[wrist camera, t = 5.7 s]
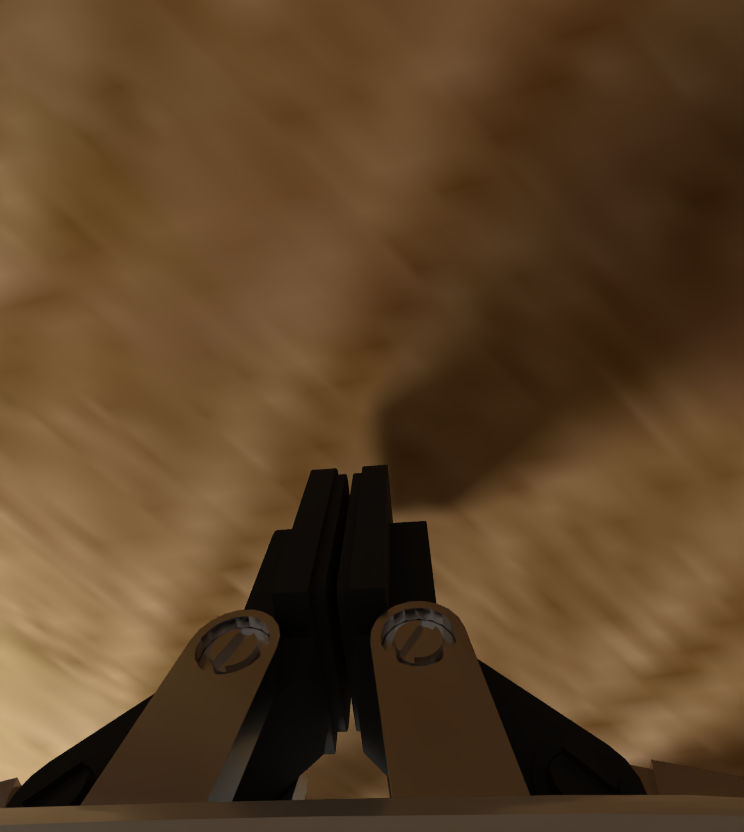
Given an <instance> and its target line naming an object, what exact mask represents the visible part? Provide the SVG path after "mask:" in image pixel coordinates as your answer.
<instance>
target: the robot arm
mask: <svg viewBox="0 0 744 832" xmlns="http://www.w3.org/2000/svg"><path fill="white" fill-rule="evenodd" d="M351 699H352V706H353V712H354V719H355V726H356V730H357V731H361V737H362V744H363V751H364V753H365V754H366V755H367V756H368V757H369V758H370V759H371V760H372V761H373V762H374V763H375V764H376V765H377V766H378V767H379V768H380V769H381V770H382V771H383V772H384V773H385V774H386V776H387V781H388V789H389V797H390V798H366V799H323V800H304V799H305V796H306V792H307V787H308V780H309V774H308V768H309V767H310V766H311V765H312V764H313V763H315V762H316V761H317V760H318V759H319V758H320V757H321V756H322V755H323V754H335V751H336V742H337V732H347V731H348V726H349V716H350V704H351ZM0 832H744V777H739V776H734V775H728V774H723V773H718V772H713V771H707V770H702V769H697V768H692V767H686V766H681V765H676V764H671V763H666V762H660V761H655V760H651V765H650V769H649V768H644V767H639V766H633V765H630V764H629V763H628V762H627V760H626V759H625V758H623V757H622V756H621V755H620V754H619V753H617V752H616V751H615V750H614V749H613V748H611V747H610V746H609V745H607V744H606V743H604V742H603V741H601V740H600V739H598V738H597V737H595V736H594V735H592V734H591V733H589V732H588V731H586V730H585V729H583V728H582V727H580V726H579V725H577V724H576V723H574V722H573V721H571V720H569V719H568V718H566V717H565V716H563V715H562V714H560V713H559V712H557V711H556V710H554V709H553V708H551V707H550V706H548V705H547V704H545V703H544V702H542V701H541V700H539V699H538V698H536V697H535V696H533V695H532V694H530V693H529V692H527V691H525V690H524V689H522V688H521V687H519V686H518V685H516V684H515V683H513V682H512V681H510V680H509V679H507V678H506V677H504V676H503V675H501V674H500V673H498V672H497V671H495V670H494V669H492V668H491V667H489V666H488V665H486V664H484V663H483V662H481V661H480V660H478V659H477V657H476V655H475V652H474V649H473V647H472V644H471V642H470V639H469V637H468V634H467V631H466V629H465V627H464V625H463V623H462V622H461V620H460V619H459V617H458V616H457V615H455V614H454V613H453V612H452V611H451V610H449V609H448V608H446V607H443V606H441V605H439V604H437V603H436V597H435V589H434V580H433V572H432V564H431V555H430V547H429V539H428V531H427V523H426V521H418V522H402V523H393V518H392V507H391V496H390V485H389V475H388V466H387V465H378V466H364V467H363V468H362V473H356V474H353V479H352V486H351V493H350V494H349V486H348V478H347V475H346V474H341V475H338V471H337V468H334V469H320V470H312V471H311V473H310V476H309V479H308V482H307V485H306V488H305V491H304V494H303V497H302V500H301V503H300V506H299V509H298V512H297V515H296V518H295V522H294V525H293V528H292V529H287V530H277V531H275V532H274V534H273V536H272V539H271V541H270V544H269V546H268V549H267V552H266V554H265V557H264V560H263V562H262V565H261V567H260V570H259V573H258V575H257V578H256V580H255V583H254V586H253V588H252V591H251V593H250V596H249V599H248V601H247V604H246V607H245V609H244V610H238V611H234V612H230V613H227V614H224V615H222V616H220V617H218V618H216V619H214V620H211V621H210V622H209V623H207V624H206V625H205V626H203V627H202V628H201V629H200V630H199V631H198V632H197V633H196V634H195V635H194V636H193V638H192V639H191V640H190V641H189V643H188V644H187V646H186V647H185V649H184V650H183V652H182V653H181V655H180V656H179V658H178V659H177V661H176V662H175V664H174V665H173V667H172V668H171V670H170V671H169V673H168V674H167V676H166V677H165V679H164V680H163V682H162V683H161V685H160V686H159V688H158V689H157V691H156V692H155V694H153V695H152V696H150V697H149V698H147V699H146V700H144V701H142V702H141V703H139V704H138V705H136V706H135V707H133V708H132V709H130V710H129V711H127V712H126V713H124V714H122V715H121V716H119V717H118V718H116V719H115V720H113V721H112V722H110V723H109V724H107V725H106V726H104V727H102V728H101V729H99V730H98V731H96V732H95V733H93V734H92V735H90V736H89V737H87V738H86V739H84V740H83V741H81V742H79V743H78V744H76V745H75V746H73V747H72V748H70V749H69V750H67V751H66V752H64V753H63V754H61V755H59V756H58V757H56V758H55V759H53V760H52V761H50V762H49V763H48V764H46V765H45V766H44V767H42V768H41V769H40V770H38V771H37V772H36V773H35V774H33V775H32V776H31V777H30V778H29V779H28V780H27V781H26V782H25V783H24V784H23V785H22V786H21V784H20V782H19V780H18V778H13V779H9V780H5V781H2V782H0Z"/></svg>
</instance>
